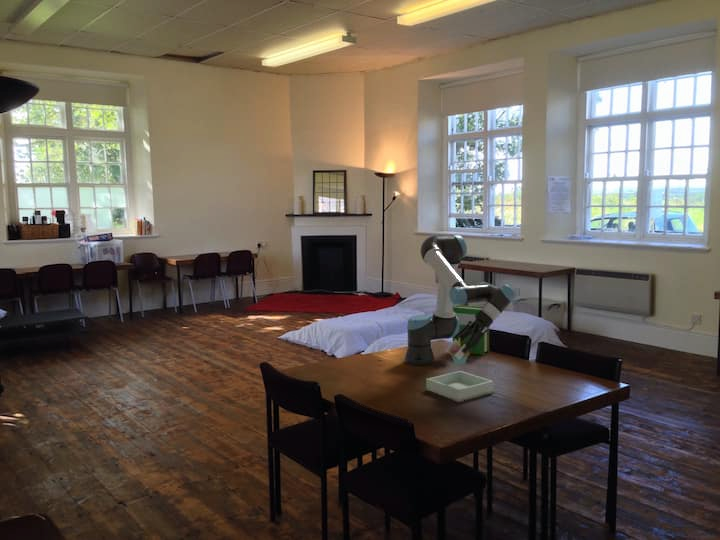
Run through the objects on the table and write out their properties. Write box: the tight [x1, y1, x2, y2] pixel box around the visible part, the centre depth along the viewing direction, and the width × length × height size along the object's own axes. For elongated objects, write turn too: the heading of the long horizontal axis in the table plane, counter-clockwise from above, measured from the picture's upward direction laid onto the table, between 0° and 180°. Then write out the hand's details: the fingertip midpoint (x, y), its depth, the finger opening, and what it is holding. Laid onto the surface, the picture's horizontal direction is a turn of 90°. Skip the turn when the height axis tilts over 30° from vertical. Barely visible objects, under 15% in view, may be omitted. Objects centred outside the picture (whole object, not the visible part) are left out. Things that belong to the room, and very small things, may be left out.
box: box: [425, 370, 494, 403], centre depth 261 cm, size 20×20×5 cm
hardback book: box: [452, 304, 490, 356], centre depth 327 cm, size 18×7×24 cm, turn 58°
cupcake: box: [448, 337, 471, 365], centre depth 259 cm, size 9×8×12 cm
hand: (452, 355), depth 259 cm, fingers closed on cupcake, 9 cm apart
